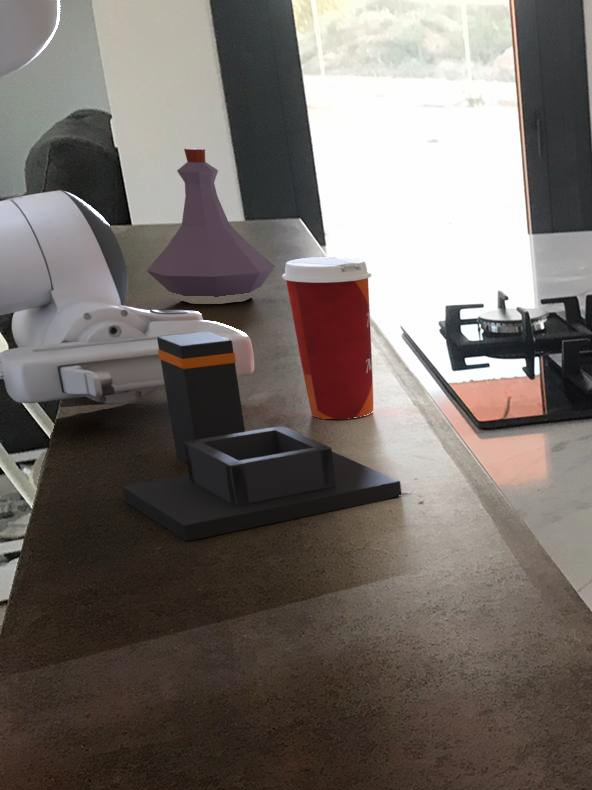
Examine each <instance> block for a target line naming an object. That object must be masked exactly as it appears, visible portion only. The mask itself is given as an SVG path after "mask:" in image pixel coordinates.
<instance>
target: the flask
mask: <svg viewBox="0 0 592 790" xmlns="http://www.w3.org/2000/svg"><path fill="white" fill-rule="evenodd" d="M183 151H184V154H185V157H186V161H187V162H185V163H184V164H183V165H182V166H181V167H179V169H177V170H176V172H177V173H178V175H179V176H180V178H181V179H182V181H183V182H184V191H185V194H184V195H185V197H184V205H183V211H182V221H181V225H180V227H179V228H178V230H177V231H176V233H175V234H174V235H173V237H172V239H171V240H170V241H169V243H168V244H167V246H166V247H165V248H164V249H163V250H162V251H161V253H160V254H158V256H157V258H156V259H155V260H154V261H153V262H152V263H151V265H150V266H149V267H148V268H147V269H146V272H147V273H148V274H149V275H150V276H152V277H153V278H154V279H155V281H156V282H158V283H159V284H160V285H161V286H162V287H164V288H165V290H167V291H168V293H170V292H172V293H176V294H180V295H183V296H214V297H219V296H226V295H235V294H244V293H250V292H252V291H254V290H255V289H257V288H259V287H260V288H261V287H262V286H263V285H264V283H265V282H266V280H267V279H268V277H269V276H270V274H272V272H273V270H274V269H275V267H276V265H274V264H273V263H272V262H271V261H270V260H269V259H267V257H265V256H264V255H263V254H262V253H260V252H259V251H258V250H257V249H256V248H255V247H254V246H252V244H250V243H249V242H248V241H247V240H246V239H245V238H244V237H243V236H242V235H241V234H240V233H239V232H238V231H237V230H236V229H235V228H234V227H233V226H232V225H231V224H230V222H229V220H228V218H227V215H226V212H225V210H224V208H223V206H222V204H221V201H220V199H219V196H218V192H217V190H216V185H215V182H216V179H217V174H218V172H219V170H218V169H217V168H216V167H214V166H212V165H211V164H209V163H208V162H207V161H206V148H203V147H202V148H201V147H200V148H198V147H197V148H196V147H193V148H192V147H190V148H187V147H186V148H184V149H183Z"/></svg>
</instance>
